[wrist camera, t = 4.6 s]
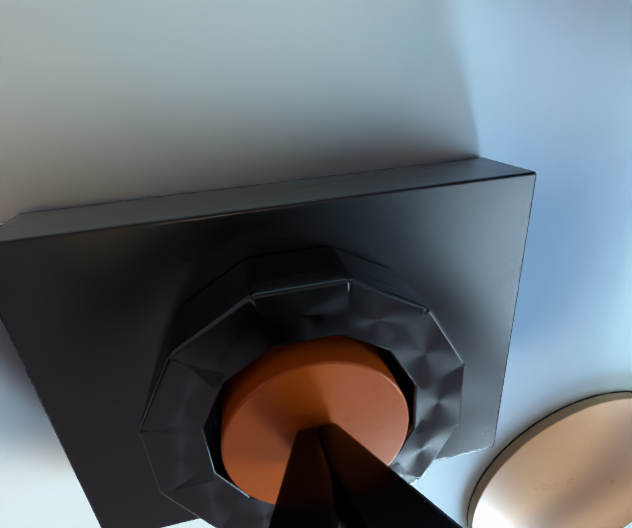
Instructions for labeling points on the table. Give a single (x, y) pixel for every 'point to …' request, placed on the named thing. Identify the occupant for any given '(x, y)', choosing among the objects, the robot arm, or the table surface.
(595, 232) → the table surface
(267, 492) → the button
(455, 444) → the control panel
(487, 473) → the cork coaster
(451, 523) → the robot arm
